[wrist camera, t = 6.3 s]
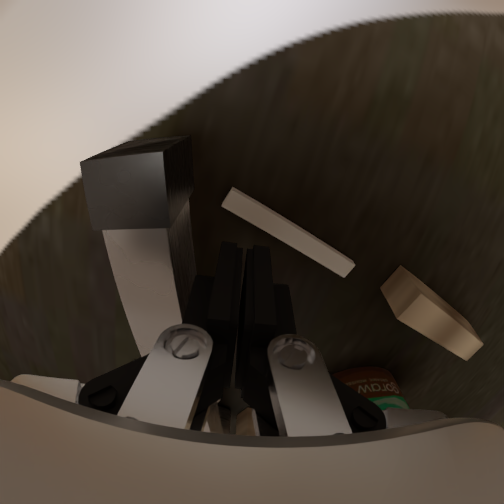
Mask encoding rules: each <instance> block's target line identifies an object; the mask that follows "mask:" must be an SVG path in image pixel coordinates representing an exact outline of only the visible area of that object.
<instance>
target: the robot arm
mask: <svg viewBox="0 0 504 504" xmlns="http://www.w3.org/2000/svg"><path fill="white" fill-rule="evenodd" d="M242 254H243V248H238V247H237V243H229V242H222V244H221V249H220V254H219V259H218V264H217V269H216V274H215V277H209V276H200V275H196V276H195V278H194V282H193V285H192V289H191V292H190V296H189V299H188V303H187V306H186V310H185V314H184V317H183V321H182V324H177V325H174V326H171V327H169V328H167V329H165V330H164V331H163V332H162V333H161V334H160V336H159V337H158V339H157V341H156V343H155V344H154V346H153V348H152V350H151V352H150V353H149V354H147V355H145V356H143V357H141V358H139V359H136V360H134V361H132V362H130V363H128V364H126V365H123V366H121V367H119V368H117V369H114V370H112V371H110V372H108V373H106V374H103V375H101V376H99V377H96V378H94V379H92V380H91V381H89V382H87V383H86V384H80V382H79V380H70V379H60V378H51V377H43V376H35V375H28V374H26V375H19V376H17V377H15V378H14V379H13V380H12V381H11V382H10V381H5V380H0V504H504V428H502V427H501V426H500V425H498V424H497V423H494V422H492V421H488V420H484V419H478V418H449V419H448V417H447V416H446V415H445V414H443V413H442V412H439V411H435V410H416V409H403V408H392V407H387V408H386V409H385V410H381V408H380V407H378V406H377V405H376V404H375V403H373V402H372V401H370V400H369V399H367V398H366V397H364V396H363V395H361V394H360V393H358V392H357V391H355V390H354V389H352V388H351V387H349V386H348V385H346V384H345V383H343V382H342V381H340V380H339V379H337V378H336V377H335V376H333V375H332V374H330V373H329V372H328V370H327V368H326V365H325V363H324V360H323V358H322V355H321V353H320V351H319V349H318V348H317V346H316V345H315V344H314V343H313V342H312V341H311V340H309V339H307V338H305V337H303V336H299V335H297V334H296V328H295V322H294V315H293V309H292V303H291V297H290V291H289V287H288V285H285V284H275V283H273V279H272V269H271V259H270V249H269V247H265V246H256V245H254V246H253V249H247V254H246V262H245V270H244V277H243V285H242V292H241V300H240V286H241V269H242ZM239 302H240V308H239ZM238 318H239V319H238ZM237 328H238V336H237ZM236 336H237V354H236V372H235V388H236V389H241V398H243V400H244V401H245V402H246V403H247V404H248V405H250V406H251V407H252V418H253V423H254V429H255V434H256V436H246V435H231V434H220V433H210V432H203V431H204V428H205V424H206V421H207V418H208V414H209V411H210V405H212V404H213V403H215V402H216V401H218V400H220V399H221V398H222V393H223V387H225V388H230V382H231V374H232V366H233V359H234V351H235V343H236Z"/></svg>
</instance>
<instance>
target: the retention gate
mask: <svg viewBox="0 0 504 504" xmlns="http://www.w3.org/2000/svg"><path fill="white" fill-rule="evenodd" d="M80 166H81V173H82V179H83V184H84V190H85V195H86V201H87V206H88V210H89V215H90V220H91V224H92V228H93V231H95V230H102V231H103V235H104V240H105V244H106V248H107V252H108V256H109V259H110V263H111V267H112V270H113V274H114V277H115V281H116V284H117V288H118V291H119V294H120V297H121V300H122V304H123V307H124V310H125V313H126V316H127V319H128V321H129V324H130V327H131V330H132V333H133V335H134V338H135V341H136V343H137V346H138V349H139V351H140V354H141V356H142V357H143V356H145V355H147V354H149V353H150V352H151V350H152V348H153V346H154V344H155V343H156V341H157V339H158V337H159V336H160V334H161V333H162V332H163V331H164V330H165V329H167V328H169V327H171V326H174V325H177V324H182V321H183V317H184V314H185V310H186V306H187V303H188V299H189V296H190V292H191V289H192V285H193V282H194V278H195V276H196V275H197V272H196V264H195V256H194V247H193V238H192V229H191V219H190V208H189V197H190V196H191V194H192V192H193V191H194V176H193V161H192V144H191V135H186V136H173V137H163V138H153V139H144V140H136V141H128V142H126V143H123V144H120V145H118V146H116V147H113V148H111V149H108V150H106V151H104V152H101V153H99V154H97V155H95V156H92V157H90V158H88V159H86V160H84V161H81V162H80ZM230 418H231V412H230V410H228V409H227V408H224V407H220V406H218V404H217V401H216V402H215V403H213V404H212V405H210V411H209V414H208V418H207V421H206V424H205V428H204V431H203V432H210V433H220V434H230Z"/></svg>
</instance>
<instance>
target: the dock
mask: <svg viewBox="0 0 504 504" xmlns="http://www.w3.org/2000/svg"><path fill="white" fill-rule="evenodd" d="M380 289H381V291H382V293H383V294H384V296H385V298H386V300H387V302H388V303H389V305H390V307H391V309H392V311H393V313H394V315H395V316H396V318H397V319H398V320H400V321H401V322H403V323H405V324H406V325H408V326H410V327H411V328H413V329H415V330H416V331H418V332H420V333H421V334H423V335H425V336H426V337H428V338H430V339H431V340H433V341H435V342H436V343H438V344H440V345H441V346H443V347H444V348H446V349H448V350H449V351H451V352H453V353H454V354H456V355H458V356H459V357H461V358H462V359H464V360H466V361H467V360H468V359H469V358H470V357H471V356H472V355H473V354H475V353H476V352H477V351H478V350H479V349H480V348H481V347H482V346H483V345H484V344H483V343H482V341H481V339H480V338H479V336H478V335H477V334H476V332H475V331H474V329H473V328H472V326H471V325H470V323H469V322H468V321H467V320H466V319H465V318H464V317H463V316H462V315H461V314H459V313H458V312H457V311H456V310H455V309H454V308H453V307H451V306H450V305H449V304H448V303H447V302H446V301H444V300H443V299H442V298H441V297H440V296H438V295H437V294H436V293H435V292H434V291H432V290H431V289H430V288H429V287H428V286H426V285H425V284H424V283H423V282H421V281H420V280H419V279H418V278H416V277H415V276H414V275H413V274H411V273H410V272H409V271H408V270H406V269H405V268H404V267H403V266H401V265H400V266H399V267H398V268H397V269H396V271H395V272H394V273H393V274H392V275H391V276H390V277H389V278H388V279H387V281H386V282H385V283H384V284H383V285H382V286H381V287H380ZM236 435H246V436H256V434H255V429H254V423H253V418H252V408H249V407H247V408H246V409H245V410H243V411H242V412H241V413H239V414H238V415H237V421H236Z"/></svg>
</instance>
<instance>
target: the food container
mask: <svg viewBox="0 0 504 504" xmlns="http://www.w3.org/2000/svg"><path fill="white" fill-rule="evenodd" d="M332 375H333V376H335V377H336V378H337V379H339V380H340V381H342V382H343V383H345V384H346V385H348V386H349V387H351V388H352V389H354V390H355V391H357V392H358V393H360V394H361V395H363V396H364V397H366V398H367V399H369V400H370V401H372V402H373V403H375V404H376V405H377V406H378V407H380V408H381V410H385V409H386V408H387V407H392V408H403V409H409V407H408V405H407V403H406V401H405V399H404V397H403V395H402V393H401V391H400V389H399V387H398V385H397V383H396V381H395V379H394V377H393V376H392V374H391V372H390V371H388V370H385V369H383V368H381V367H373V366H365V367H356V368H351V369H347V370H343V371H340V372H337V373H335V374H332Z"/></svg>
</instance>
